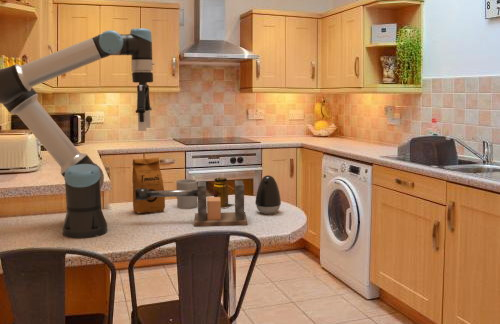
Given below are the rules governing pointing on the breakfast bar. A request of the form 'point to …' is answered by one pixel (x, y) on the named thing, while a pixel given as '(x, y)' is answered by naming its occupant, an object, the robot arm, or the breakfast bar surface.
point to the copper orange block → (222, 191)
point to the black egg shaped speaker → (268, 196)
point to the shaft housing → (226, 218)
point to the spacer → (213, 208)
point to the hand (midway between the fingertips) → (144, 129)
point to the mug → (187, 201)
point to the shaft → (163, 193)
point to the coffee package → (147, 184)
